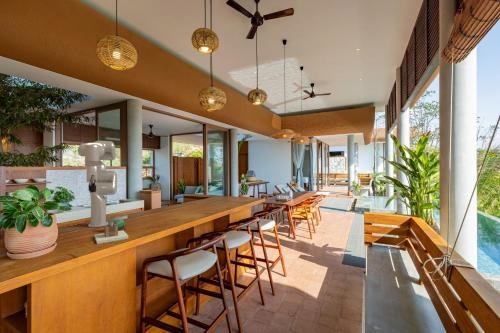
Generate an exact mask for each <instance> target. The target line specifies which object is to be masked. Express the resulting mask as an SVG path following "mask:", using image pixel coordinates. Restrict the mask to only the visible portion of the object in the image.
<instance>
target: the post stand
mask: <svg viewBox="0 0 500 333" xmlns="http://www.w3.org/2000/svg"><path fill="white" fill-rule="evenodd" d="M108 225H109V226H113V222H110V223H109V222H108ZM94 239H95V241H96V244H97V245H99V244H104V243H109V242H110V243H111V242H116V241H121V240H127V239H129V235H128V234H127V233H126V231H125V230H122V231H118V236H112V237H105V232H103V233H97V234H94Z"/></svg>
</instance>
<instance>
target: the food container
mask: <svg viewBox="0 0 500 333" xmlns="http://www.w3.org/2000/svg"><path fill="white" fill-rule="evenodd" d="M128 217H129V216H128V215H123V216H120V215H117V216H108V217H107V220H108V221H109V222H108V224H109V223H110V222H113V224H117V225H118V231H122V230H124V231H126V227H127V219H128Z"/></svg>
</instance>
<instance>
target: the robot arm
mask: <svg viewBox="0 0 500 333" xmlns="http://www.w3.org/2000/svg"><path fill="white" fill-rule="evenodd" d="M115 145H116V144H115V143H114V142H113V141H112V140H111V141H109V140H96V141H94V142H85V143H80V145H78V148H77V154H78V155H79V156H80V157H84V167H86V183H88V191H89V196H90V223H89V224H88V227H89V228H96V227H97V228H99V227H105V225H109V222H108V221H107V201H106V199H105V197H103V196H114V195H115V194H117V192H118V191H117V190H118V174H117V172H116V171H115V170H107V168H108V167H107V165H106V163H104V161H114V160H116V158H117V152H116V146H115Z"/></svg>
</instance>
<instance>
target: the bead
mask: <svg viewBox="0 0 500 333" xmlns="http://www.w3.org/2000/svg"><path fill="white" fill-rule="evenodd" d="M104 233H105V237H112V236H118V225H117V224H113V226H109V224H108V225H105V226H104Z"/></svg>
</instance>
